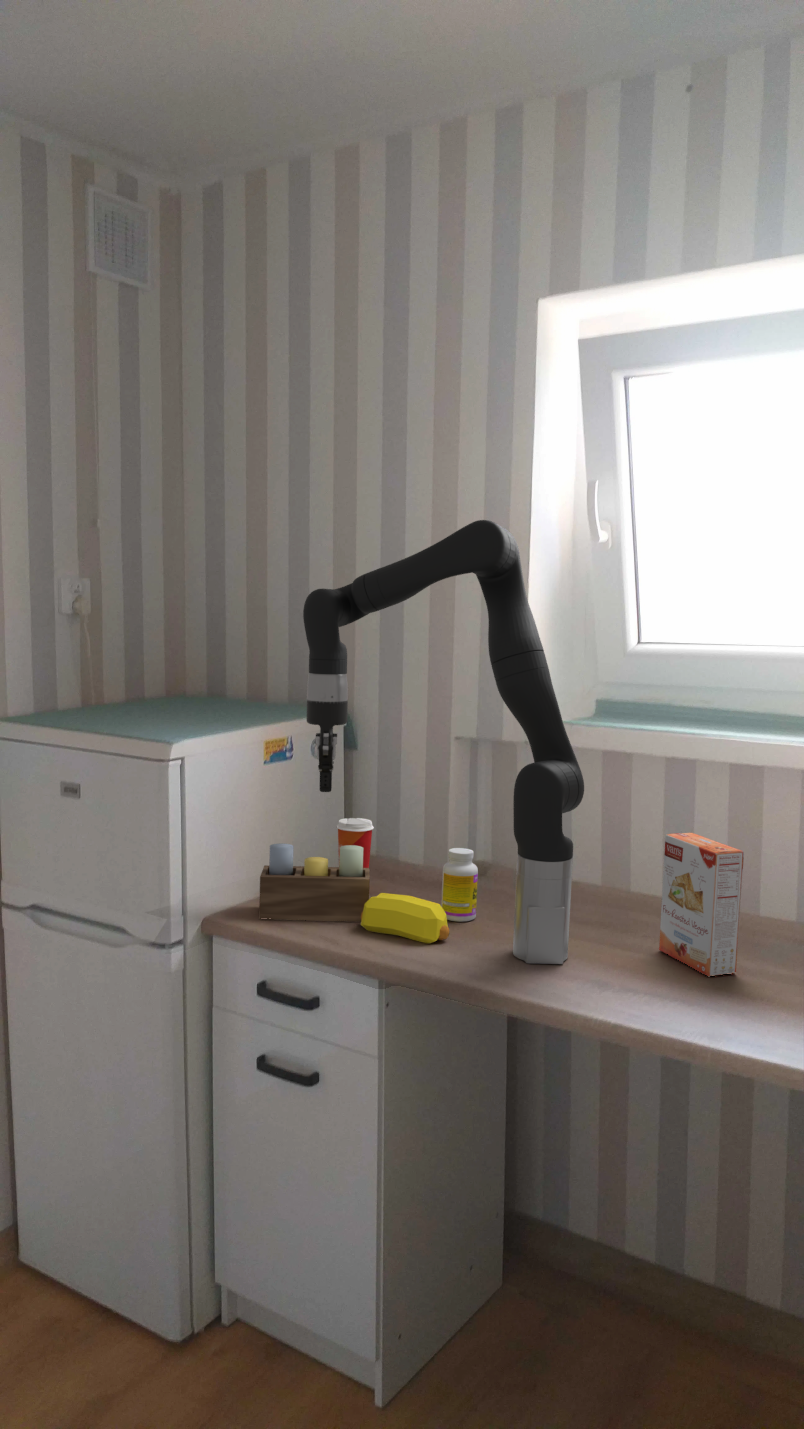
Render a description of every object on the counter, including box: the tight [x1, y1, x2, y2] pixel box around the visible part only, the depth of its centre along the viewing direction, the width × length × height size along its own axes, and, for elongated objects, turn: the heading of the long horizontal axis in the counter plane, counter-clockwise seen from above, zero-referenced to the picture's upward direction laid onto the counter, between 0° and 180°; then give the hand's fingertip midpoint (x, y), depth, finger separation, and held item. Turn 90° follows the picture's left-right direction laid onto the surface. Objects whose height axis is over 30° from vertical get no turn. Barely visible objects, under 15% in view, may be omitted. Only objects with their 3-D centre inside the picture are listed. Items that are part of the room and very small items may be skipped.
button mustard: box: [303, 856, 329, 876], centre depth 197 cm, size 4×4×6 cm
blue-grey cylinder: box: [268, 843, 294, 875], centre depth 196 cm, size 4×4×6 cm
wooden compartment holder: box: [258, 865, 371, 923], centre depth 197 cm, size 8×20×8 cm, turn 92°
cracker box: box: [658, 832, 745, 977], centre depth 176 cm, size 14×6×21 cm, turn 21°
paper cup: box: [336, 817, 375, 869], centre depth 216 cm, size 8×8×14 cm
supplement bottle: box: [440, 847, 479, 923], centre depth 198 cm, size 7×7×13 cm
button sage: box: [338, 845, 363, 877], centre depth 197 cm, size 4×4×6 cm
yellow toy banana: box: [360, 892, 450, 944], centre depth 187 cm, size 18×7×8 cm
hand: (325, 791), depth 195 cm, fingers closed
